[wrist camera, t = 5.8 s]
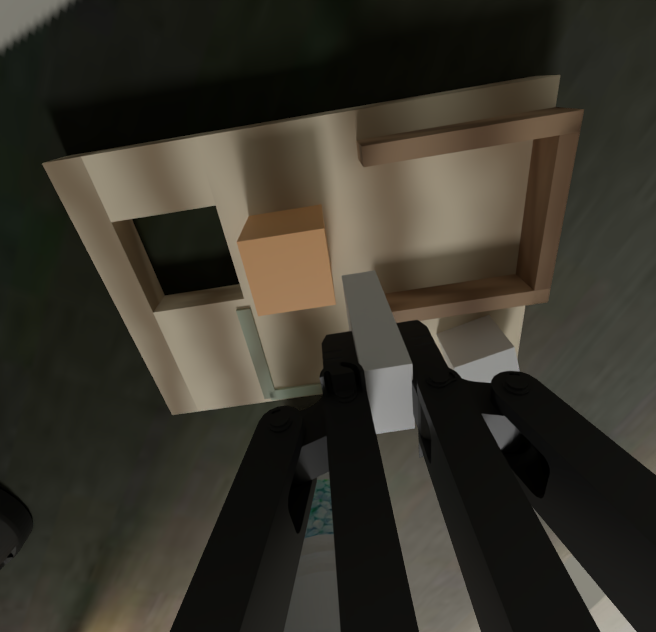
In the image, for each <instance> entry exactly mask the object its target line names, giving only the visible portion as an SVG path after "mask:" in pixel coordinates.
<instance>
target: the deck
mask: <svg viewBox="0 0 656 632" xmlns="http://www.w3.org/2000/svg"><path fill="white" fill-rule="evenodd" d="M559 81H560V75H546V76H533V77H527V78H521V79H515V80H509V81H503V82H498V83H492V84H486V85H480V86H474V87H468V88H462V89H457V90H451V91H445V92H439V93H433V94H427V95H421V96H416V97H410V98H404V99H398V100H392V101H386V102H380V103H375V104H369V105H363V106H357V107H351V108H345V109H340V110H334V111H328V112H322V113H316V114H310V115H304V116H299V117H293V118H287V119H281V120H275V121H269V122H263V123H258V124H252V125H246V126H240V127H234V128H228V129H222V130H217V131H211V132H205V133H199V134H193V135H187V136H181V137H176V138H170V139H164V140H158V141H152V142H146V143H140V144H135V145H129V146H123V147H117V148H111V149H105V150H99V151H94V152H88V153H82V154H76V155H70V156H65V157H62V158H58V159H55V160H51V161H48V162H44V163H42V164H43V166H44V168H45V170H46V172H47V174H48V176H49V178H50V180H51V182H52V184H53V186H54V188H55V189H56V191H57V193H58V195H59V197H60V199H61V201H62V203H63V205H64V207H65V209H66V211H67V213H68V215H69V216H70V218H71V220H72V222H73V224H74V226H75V228H76V230H77V232H78V234H79V236H80V238H81V240H82V242H83V243H84V245H85V247H86V249H87V251H88V253H89V255H90V257H91V259H92V261H93V263H94V265H95V267H96V269H97V270H98V272H99V274H100V276H101V278H102V280H103V282H104V284H105V286H106V288H107V290H108V292H109V294H110V296H111V297H112V299H113V301H114V303H115V305H116V307H117V309H118V311H119V313H120V315H121V317H122V319H123V321H124V323H125V324H126V326H127V328H128V330H129V332H130V334H131V336H132V338H133V340H134V342H135V344H136V346H137V348H138V349H139V351H140V353H141V355H142V357H143V359H144V361H145V363H146V365H147V367H148V369H149V371H150V373H151V375H152V376H153V378H154V380H155V382H156V384H157V386H158V388H159V390H160V392H161V394H162V396H163V398H164V400H165V402H166V403H167V405H168V407H169V409H170V411H171V413H172V415H176V414H183V413H190V412H197V411H204V410H212V409H219V408H226V407H233V406H240V405H247V404H254V403H262V402H269V401H276V400H283V399H290V398H297V397H304V396H311V395H319V394H323V392H322V387H321V383H320V378H319V377H320V372H321V371H322V369H323V358H322V344H321V343H322V342H323V340H324V338H325V336H326V335H328V334H335V333H341V332H347V331H349V325H348V318H347V311H346V304H345V297H344V290H343V283H342V275H348V274H355V273H361V272H367V271H373V270H375V271H376V274H377V276H378V279H379V281H380V284H381V286H382V289H383V291H384V294H386V293H392V292H399V291H406V290H412V289H419V288H426V287H432V286H439V285H446V284H452V283H459V282H466V281H472V280H479V279H486V278H492V277H499V276H506V275H512V274H516V268H517V260H518V253H519V245H520V237H521V230H522V222H523V214H524V206H525V199H526V191H527V183H528V176H529V168H530V160H531V153H532V145H533V140H527V141H521V142H515V143H509V144H503V145H497V146H491V147H485V148H479V149H473V150H466V151H460V152H454V153H448V154H442V155H436V156H430V157H424V158H418V159H412V160H406V161H399V162H393V163H387V164H381V165H375V166H369V167H363V166H362V164H361V163H360V161H359V160H358V153H357V143H356V140H362V139H368V138H374V137H380V136H386V135H392V134H398V133H404V132H410V131H415V130H421V129H427V128H433V127H439V126H445V125H451V124H457V123H463V122H469V121H475V120H481V119H487V118H493V117H499V116H505V115H511V114H517V113H523V112H529V111H535V110H541V109H547V108H553V107H556V100H557V94H558V87H559ZM214 205H216V208H217V211H218V215H219V218H220V221H221V224H222V228H223V231H224V234H225V237H226V241H227V244H228V247H229V251H230V254H231V257H232V260H233V264H234V267H235V270H236V274H237V277H238V280H239V283H240V284H237V285H231V286H224V287H218V288H211V289H204V290H198V291H191V292H185V293H178V294H172V295H164V293H163V290H162V288H161V286H160V283H159V281H158V279H157V276H156V274H155V272H154V269H153V267H152V265H151V263H150V260H149V258H148V256H147V253H146V251H145V249H144V246H143V244H142V242H141V239H140V237H139V235H138V232H137V230H136V228H135V225H134V223H133V221H132V219H134V218H140V217H147V216H153V215H159V214H165V213H171V212H177V211H183V210H190V209H196V208H202V207H208V206H214ZM314 205H322V211H323V218H324V224H325V230H326V237H327V243H328V250H329V256H330V263H331V269H332V277H333V285H334V293H335V301H336V305H331V306H324V307H317V308H311V309H304V310H297V311H290V312H284V313H277V314H270V315H264V316H258V314H257V311H256V307H255V304H254V300H253V297H252V294H251V290H250V287H249V283H248V280H247V276H246V273H245V269H244V266H243V262H242V259H241V256H240V252H239V249H238V245H237V240H238V238H239V236H240V234H241V232H242V229H243V227H244V225H245V223H246V221H247V219H248V217H249V216H252V215H258V214H264V213H271V212H277V211H283V210H289V209H296V208H302V207H308V206H314ZM524 311H525V306H518V307H511V308H505V309H498V310H491V311H484V312H477V313H471V314H464V315H457V316H450V317H443V318H436V319H430V320H423V321H420V322H422V323H423V324H424V325H426V326H427V327H428V329H429V331H430V333H431V336H432V337H433V339H434V341H435V343H436V345H437V347H438V348H439V350H440V352H441V354H442V356H443V358H444V355H443V352H442V349H441V346H440V343H439V340H438V338H437V335H436V334H437V333H440V332H443V331H445V330H448V329H451V328H454V327H456V326H459V325H462V324H465V323H467V322H470V321H473V320H476V319H478V318H481V317H484V316H487V315H490V317H491V318H492V319H493V320H494V322H495V323H496V324H497V325H498V327H499V328H500V329H501V330H502V332H503V333H504V334H505V336H506V337H507V338H508V339H509V341H510V342H511V343H512V344H513V346H514V347H515V352H516V356H517V357H518V350H519V343H520V337H521V330H522V324H523V317H524ZM444 360H445V358H444ZM445 362H446V361H445Z"/></svg>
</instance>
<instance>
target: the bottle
mask: <svg viewBox="0 0 656 632" xmlns="http://www.w3.org/2000/svg"><path fill="white" fill-rule="evenodd" d="M284 632H341V630H340V616H339V602H338V588H337V575H336V561H335V547H334V533H333V519H332V506H331V492H330V478H329V472H327V473H325V474H323V475H321V476H319V477H317V483H316V488H315V492H314V497H313V501H312V506H311V510H310V515H309V519H308V524H307V528H306V533H305V537H304V542H303V547H302V551H301V556H300V560H299V565H298V569H297V574H296V578H295V583H294V587H293V592H292V596H291V601H290V605H289V610H288V614H287V619H286V623H285V628H284Z"/></svg>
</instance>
